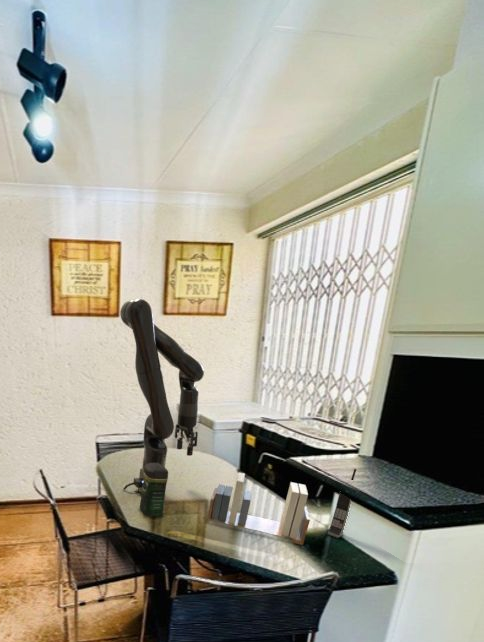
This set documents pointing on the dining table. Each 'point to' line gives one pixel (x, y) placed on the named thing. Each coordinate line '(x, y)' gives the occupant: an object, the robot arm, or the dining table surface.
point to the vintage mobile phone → (340, 514)
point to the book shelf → (265, 523)
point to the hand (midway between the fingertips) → (184, 452)
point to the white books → (293, 509)
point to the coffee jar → (153, 490)
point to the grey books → (223, 504)
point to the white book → (236, 498)
